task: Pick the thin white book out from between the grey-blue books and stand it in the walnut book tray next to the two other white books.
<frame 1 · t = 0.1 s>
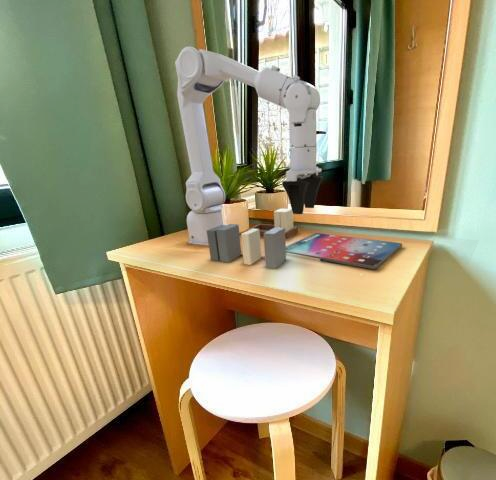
hand: (303, 210, 71), 10 cm above the table, tool pointing down, fingers open, 7 cm apart
white books: (284, 222, 87), in the book tray, point 4 cm above the table
white book: (253, 260, 70), on the table
grey books: (253, 260, 70), on the table
book tray: (272, 235, 91), on the table
tablet: (340, 250, 75), on the table
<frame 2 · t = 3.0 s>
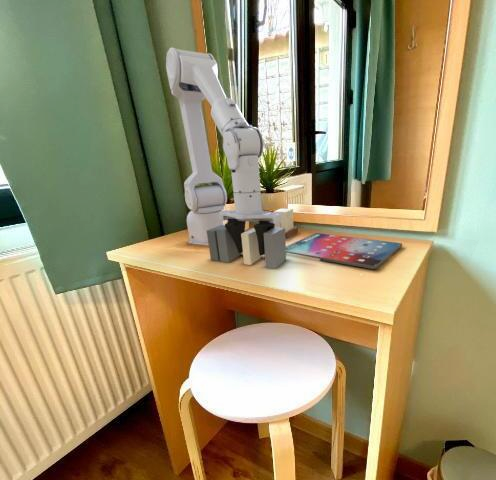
hand: (252, 252, 69), 2 cm above the table, tool pointing down, fingers closed on grey books, 5 cm apart
nothing on the table moved.
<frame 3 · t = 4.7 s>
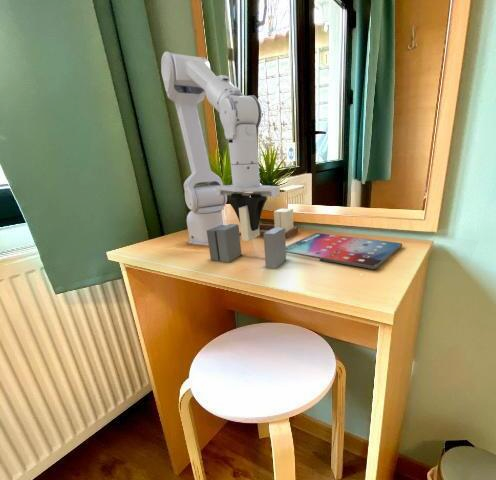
hand: (250, 229, 67), 7 cm above the table, tool pointing down, fingers closed on white book
white book: (251, 237, 68), point 5 cm above the table, touching gripper
everything else where it was.
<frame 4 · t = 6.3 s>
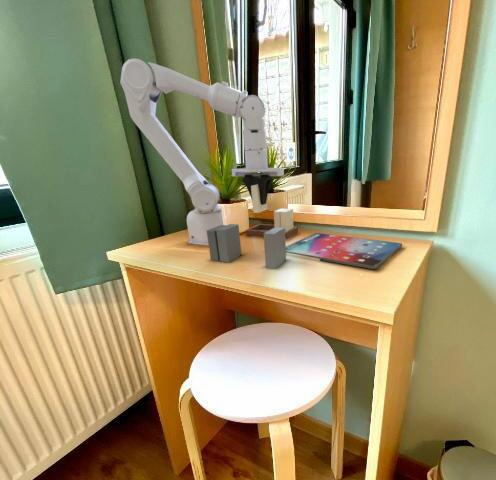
hand: (259, 204, 83), 10 cm above the table, tool pointing down, fingers closed on white book
white book: (260, 211, 84), point 8 cm above the table, touching gripper
everything else where it was.
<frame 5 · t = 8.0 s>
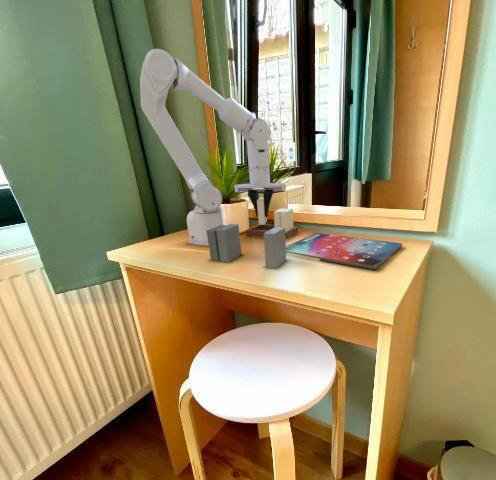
hand: (262, 216, 90), 5 cm above the table, tool pointing down, fingers closed on white book
white book: (262, 222, 90), point 4 cm above the table, touching gripper
everything else where it was.
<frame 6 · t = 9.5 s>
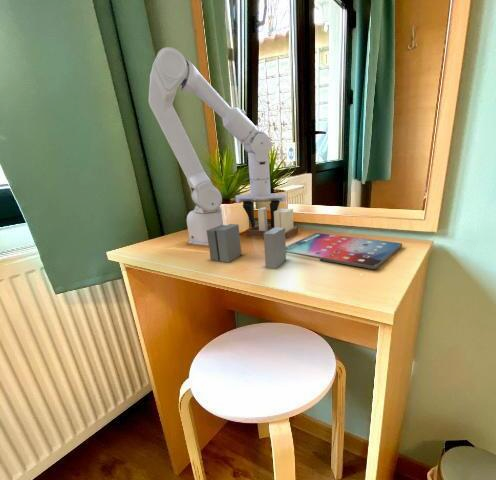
hand: (263, 226, 91), 2 cm above the table, tool pointing down, fingers open, 5 cm apart
white book: (263, 232, 91), point 1 cm above the table, touching book tray
everything else where it was.
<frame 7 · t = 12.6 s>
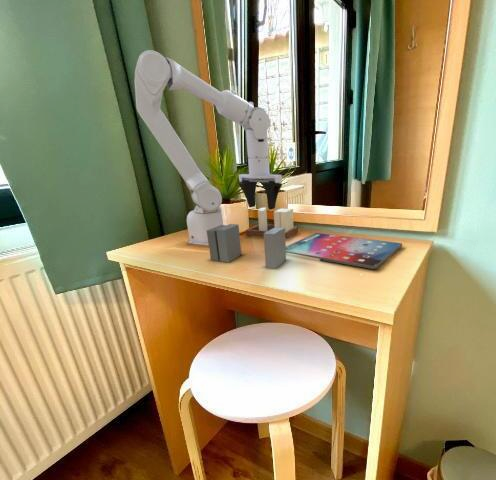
hand: (261, 207, 88), 8 cm above the table, tool pointing down, fingers open, 7 cm apart
nothing on the table moved.
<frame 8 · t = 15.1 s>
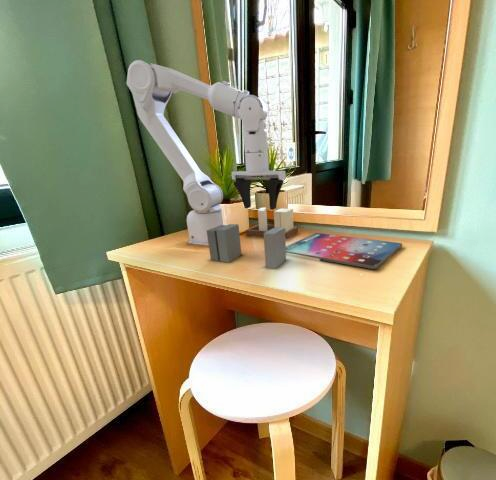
hand: (260, 208, 80), 9 cm above the table, tool pointing down, fingers open, 7 cm apart
nothing on the table moved.
at the end: white book 0.7 cm from the target spot in the book tray, point 0.6 cm above the book tray's base; white book tilted 0° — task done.
